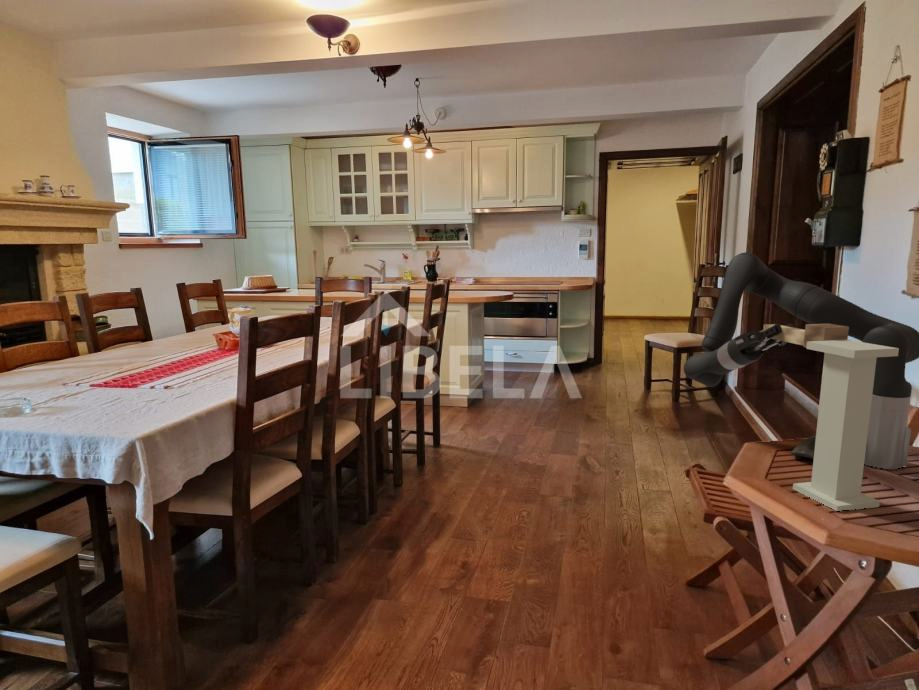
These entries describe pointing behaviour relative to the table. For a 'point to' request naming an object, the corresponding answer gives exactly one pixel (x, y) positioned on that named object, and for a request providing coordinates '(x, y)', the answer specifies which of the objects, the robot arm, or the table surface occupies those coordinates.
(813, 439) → the decorative stone
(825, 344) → the stand
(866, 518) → the table surface
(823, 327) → the mallet
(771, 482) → the table surface
